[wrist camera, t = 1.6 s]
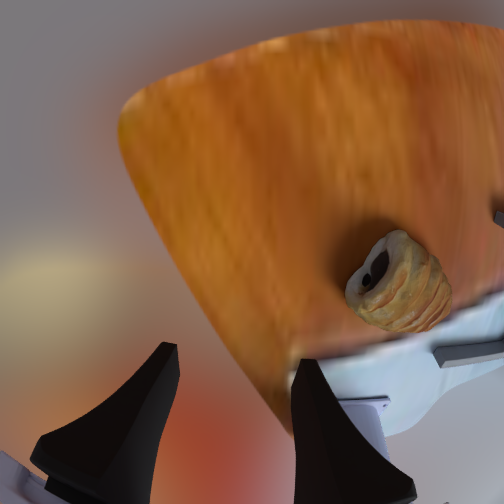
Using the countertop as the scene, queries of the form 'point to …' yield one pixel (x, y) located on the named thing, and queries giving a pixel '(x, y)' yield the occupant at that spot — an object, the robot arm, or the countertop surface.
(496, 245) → the countertop surface
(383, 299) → the pastry
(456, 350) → the tray slot
